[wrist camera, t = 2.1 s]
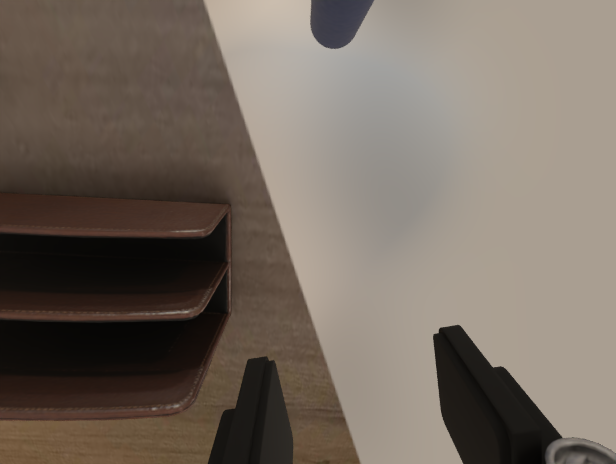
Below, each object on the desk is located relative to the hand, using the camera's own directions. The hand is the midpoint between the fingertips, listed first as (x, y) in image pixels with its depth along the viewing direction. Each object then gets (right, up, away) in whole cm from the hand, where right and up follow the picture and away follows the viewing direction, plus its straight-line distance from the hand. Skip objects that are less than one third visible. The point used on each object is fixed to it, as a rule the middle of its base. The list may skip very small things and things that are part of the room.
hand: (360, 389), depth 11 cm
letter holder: (-18, +3, +22) cm, 28 cm away
